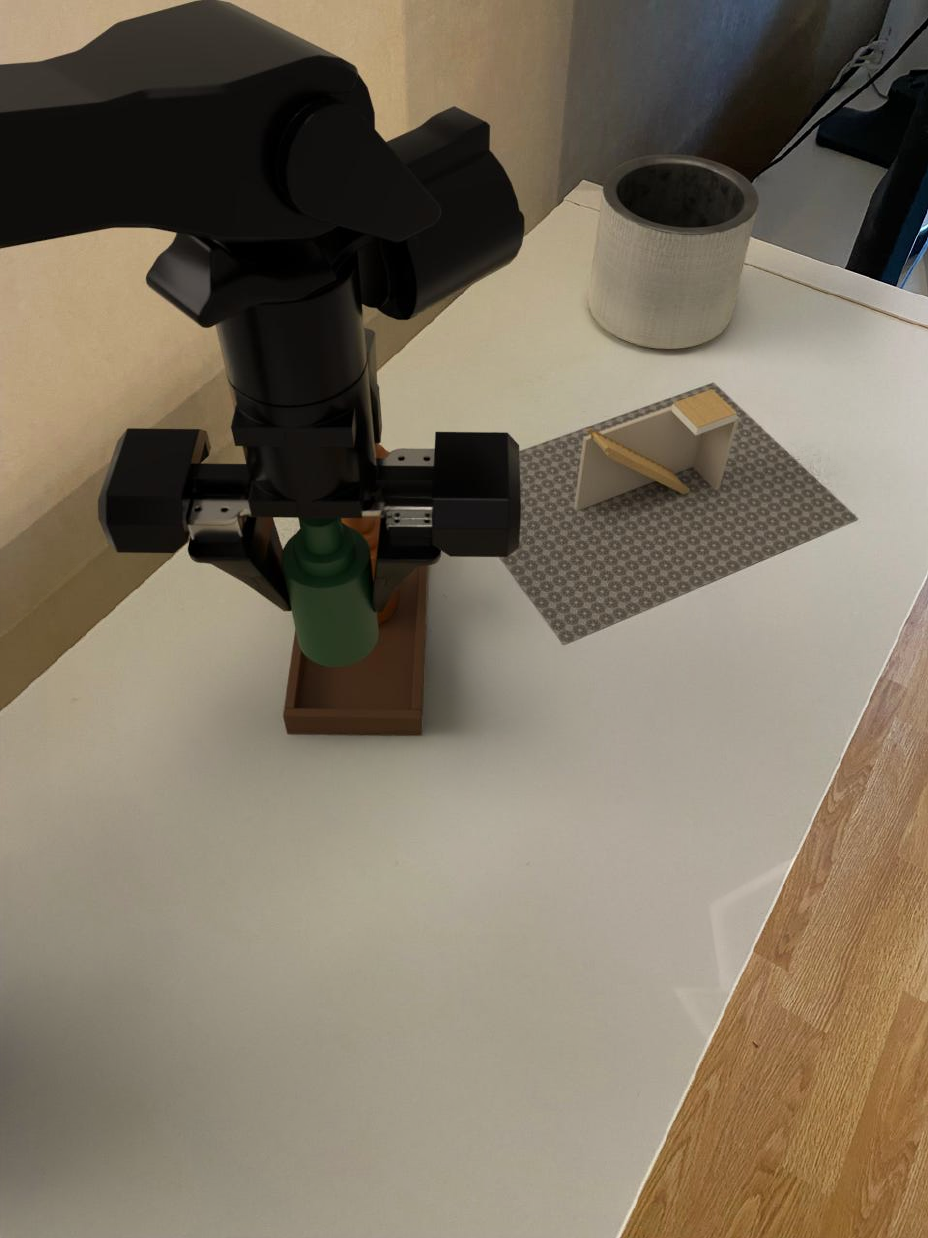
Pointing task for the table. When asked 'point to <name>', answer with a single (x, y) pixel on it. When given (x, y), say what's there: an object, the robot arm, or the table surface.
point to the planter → (670, 249)
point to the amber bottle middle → (373, 555)
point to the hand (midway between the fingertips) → (334, 604)
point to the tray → (367, 678)
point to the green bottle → (331, 591)
